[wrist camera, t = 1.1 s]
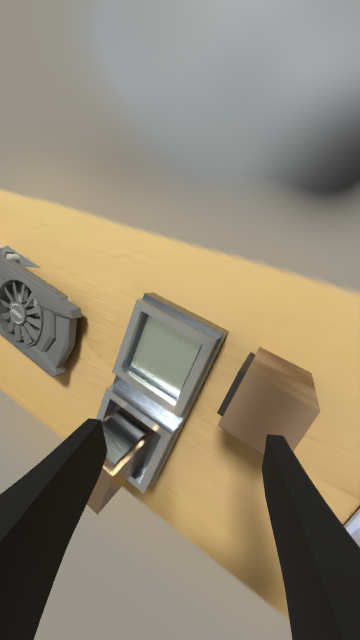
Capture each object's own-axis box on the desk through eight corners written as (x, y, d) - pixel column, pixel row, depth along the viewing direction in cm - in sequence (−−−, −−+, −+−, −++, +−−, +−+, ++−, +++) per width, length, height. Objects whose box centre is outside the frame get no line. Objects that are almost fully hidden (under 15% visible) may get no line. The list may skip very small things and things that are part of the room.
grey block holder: (228, 331, 20) (195, 354, 13) (158, 477, 25) (108, 549, 18) (153, 292, 22) (93, 295, 16) (103, 433, 27) (40, 481, 20)
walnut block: (311, 373, 18) (320, 411, 12) (284, 415, 19) (282, 467, 14) (254, 344, 19) (240, 367, 14) (233, 385, 20) (212, 421, 15)
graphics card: (-42, 327, 31) (-32, 236, 28) (-10, 322, 35) (3, 241, 31) (44, 404, 27) (71, 307, 23) (72, 389, 30) (100, 303, 26)
